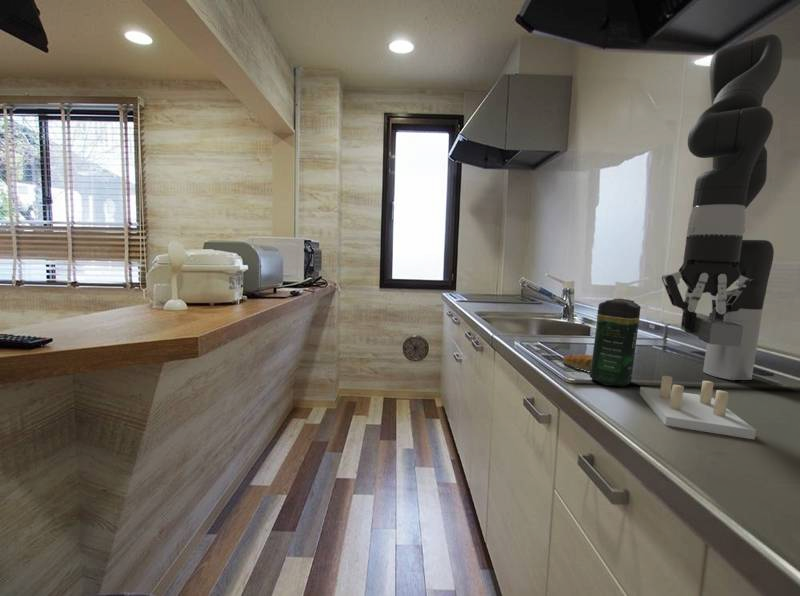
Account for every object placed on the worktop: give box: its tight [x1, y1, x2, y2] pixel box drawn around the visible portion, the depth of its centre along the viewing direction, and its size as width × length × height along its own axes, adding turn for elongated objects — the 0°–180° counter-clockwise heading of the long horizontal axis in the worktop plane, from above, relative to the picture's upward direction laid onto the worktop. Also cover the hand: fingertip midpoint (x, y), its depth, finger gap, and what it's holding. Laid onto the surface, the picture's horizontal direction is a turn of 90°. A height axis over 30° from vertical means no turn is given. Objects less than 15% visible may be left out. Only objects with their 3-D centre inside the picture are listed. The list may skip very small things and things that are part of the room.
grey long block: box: [680, 312, 743, 347], centre depth 66 cm, size 14×4×3 cm, turn 162°
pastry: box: [562, 354, 593, 371], centre depth 97 cm, size 9×7×4 cm
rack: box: [639, 375, 757, 440], centre depth 70 cm, size 16×12×6 cm
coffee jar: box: [589, 298, 641, 387], centre depth 86 cm, size 10×8×19 cm
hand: (700, 333), depth 68 cm, fingers closed on grey long block, 2 cm apart
